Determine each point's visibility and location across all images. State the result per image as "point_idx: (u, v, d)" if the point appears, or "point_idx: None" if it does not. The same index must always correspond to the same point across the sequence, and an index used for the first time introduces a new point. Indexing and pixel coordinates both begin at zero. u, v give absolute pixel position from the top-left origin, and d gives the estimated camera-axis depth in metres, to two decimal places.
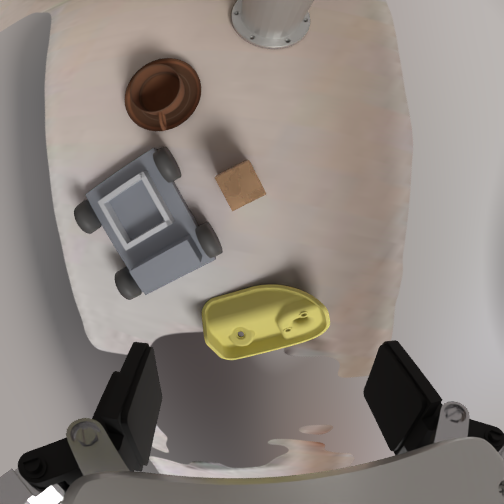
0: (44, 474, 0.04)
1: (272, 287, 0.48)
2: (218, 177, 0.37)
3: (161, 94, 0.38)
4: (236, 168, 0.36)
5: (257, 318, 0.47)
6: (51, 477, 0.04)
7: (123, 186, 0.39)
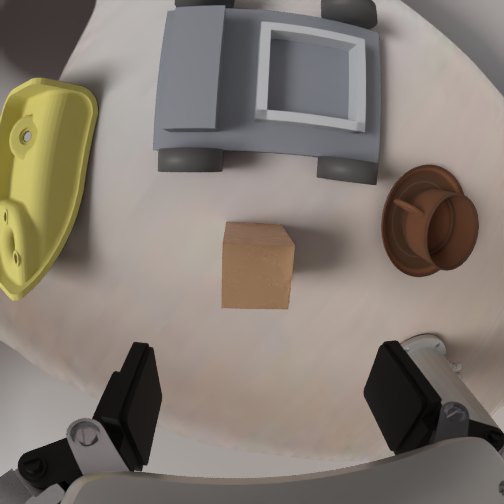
0: (44, 474, 0.04)
1: (70, 220, 0.24)
2: (291, 251, 0.20)
3: None
4: (288, 285, 0.21)
5: (34, 178, 0.20)
6: (51, 477, 0.04)
7: (362, 88, 0.20)
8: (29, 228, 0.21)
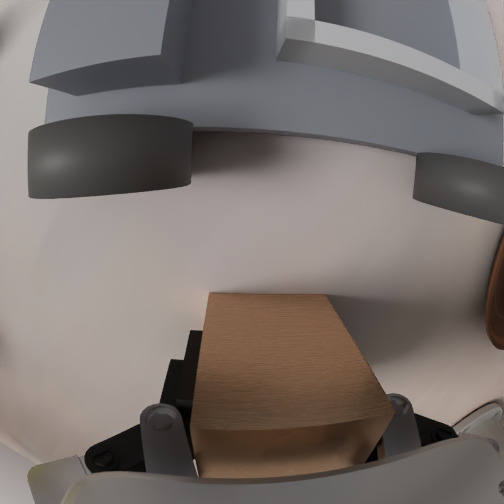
0: (117, 465, 0.05)
1: None
2: (383, 424, 0.06)
3: None
4: None
5: None
6: (126, 467, 0.05)
7: (489, 30, 0.05)
8: None
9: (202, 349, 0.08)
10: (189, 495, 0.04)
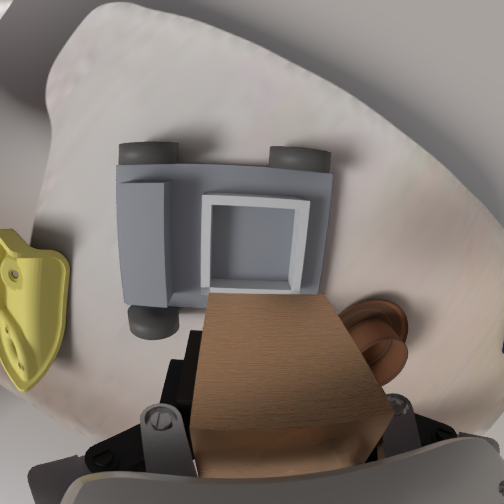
0: (117, 465, 0.05)
1: (57, 344, 0.29)
2: (383, 424, 0.06)
3: None
4: None
5: (26, 317, 0.25)
6: (126, 467, 0.05)
7: (300, 258, 0.25)
8: (28, 349, 0.26)
9: (202, 349, 0.08)
10: (189, 495, 0.04)
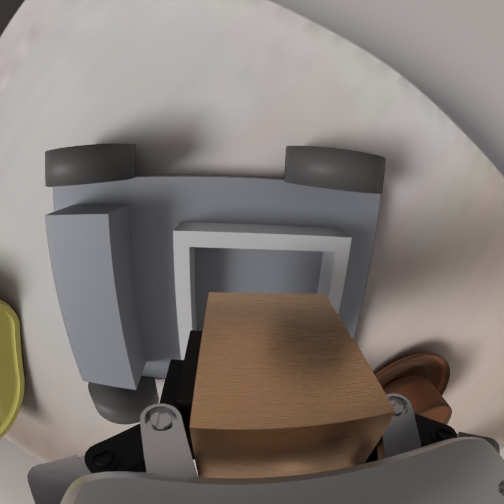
0: (117, 465, 0.05)
1: (18, 399, 0.20)
2: (383, 423, 0.06)
3: None
4: None
5: None
6: (126, 467, 0.05)
7: None
8: None
9: (202, 348, 0.08)
10: (189, 495, 0.04)
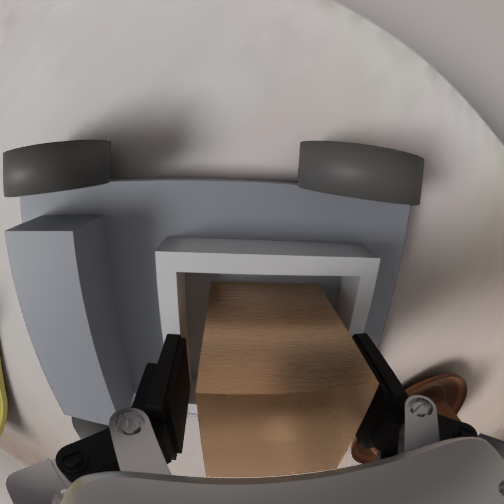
0: (86, 467, 0.05)
1: (2, 417, 0.16)
2: (368, 395, 0.07)
3: None
4: (345, 444, 0.08)
5: None
6: (94, 469, 0.05)
7: None
8: None
9: (206, 328, 0.09)
10: (189, 495, 0.04)
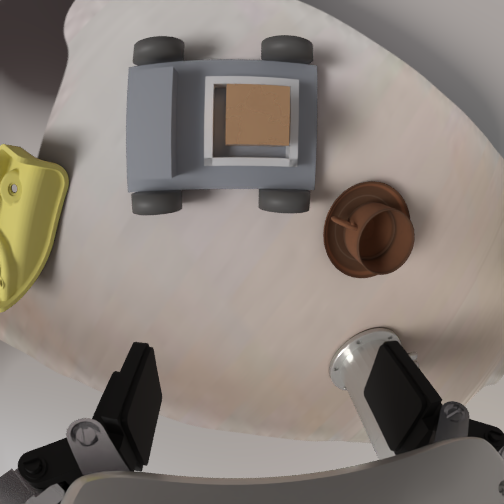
0: (44, 474, 0.04)
1: (42, 263, 0.30)
2: (287, 91, 0.20)
3: (367, 226, 0.34)
4: (287, 122, 0.21)
5: (17, 230, 0.26)
6: (51, 477, 0.04)
7: (295, 128, 0.26)
8: (12, 265, 0.26)
9: None
10: (189, 495, 0.04)
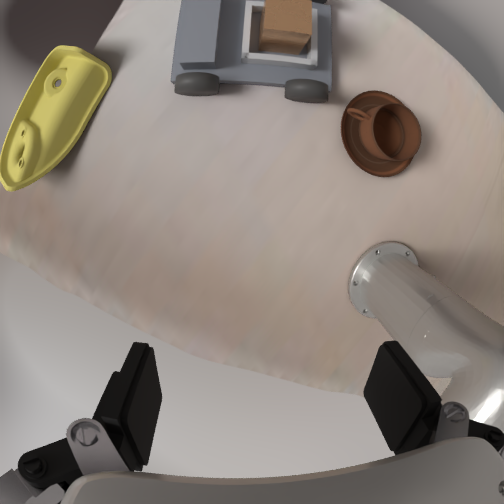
0: (44, 474, 0.04)
1: (65, 151, 0.31)
2: (310, 3, 0.22)
3: (379, 132, 0.34)
4: (310, 20, 0.22)
5: (53, 114, 0.27)
6: (51, 477, 0.04)
7: (314, 39, 0.27)
8: (37, 146, 0.28)
9: (263, 6, 0.24)
10: (189, 495, 0.04)
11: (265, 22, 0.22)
